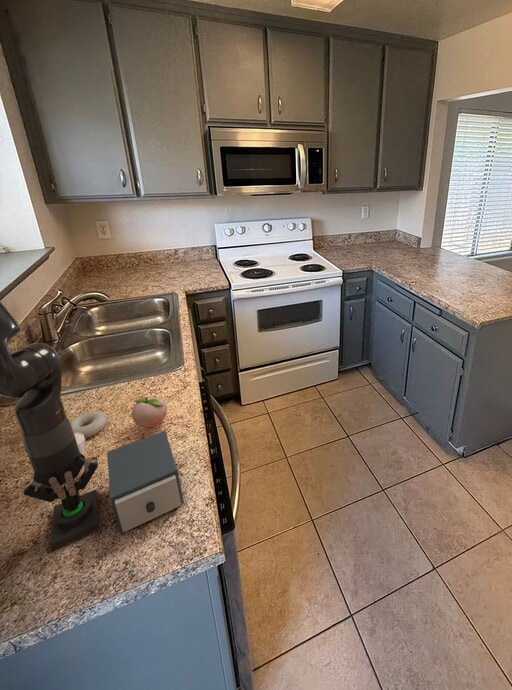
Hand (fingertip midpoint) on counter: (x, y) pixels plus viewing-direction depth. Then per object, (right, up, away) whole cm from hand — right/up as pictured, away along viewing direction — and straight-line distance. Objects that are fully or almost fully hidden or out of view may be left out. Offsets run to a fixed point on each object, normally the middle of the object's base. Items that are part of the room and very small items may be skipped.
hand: (73, 506), depth 76 cm
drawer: (+14, -1, +5) cm, 15 cm away
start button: (0, -2, 0) cm, 2 cm away
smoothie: (-8, 0, +13) cm, 15 cm away
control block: (0, -3, +1) cm, 4 cm away
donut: (-15, +5, +28) cm, 32 cm away
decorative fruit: (+3, +6, +28) cm, 29 cm away
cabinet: (+12, -1, +7) cm, 14 cm away
